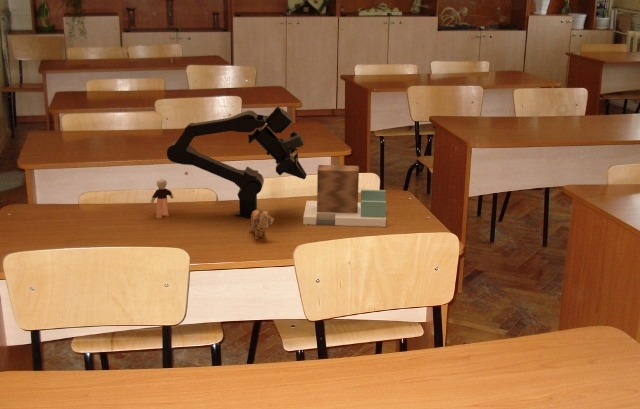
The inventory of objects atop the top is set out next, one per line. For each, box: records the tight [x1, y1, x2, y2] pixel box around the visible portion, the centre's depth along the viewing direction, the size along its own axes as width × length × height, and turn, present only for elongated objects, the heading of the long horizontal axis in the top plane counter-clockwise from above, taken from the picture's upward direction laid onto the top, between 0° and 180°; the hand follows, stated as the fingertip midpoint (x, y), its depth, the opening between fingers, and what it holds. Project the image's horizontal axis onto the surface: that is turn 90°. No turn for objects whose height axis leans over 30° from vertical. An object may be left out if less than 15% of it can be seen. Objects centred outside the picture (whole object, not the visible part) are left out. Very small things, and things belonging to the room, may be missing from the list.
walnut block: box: [316, 164, 360, 213], centre depth 252 cm, size 13×6×14 cm, turn 87°
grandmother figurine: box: [150, 178, 174, 219], centre depth 252 cm, size 8×4×13 cm, turn 137°
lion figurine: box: [249, 209, 275, 240], centre depth 238 cm, size 15×5×9 cm, turn 25°
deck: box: [302, 189, 388, 228], centre depth 254 cm, size 26×16×8 cm, turn 87°
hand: (305, 177), depth 251 cm, fingers closed
